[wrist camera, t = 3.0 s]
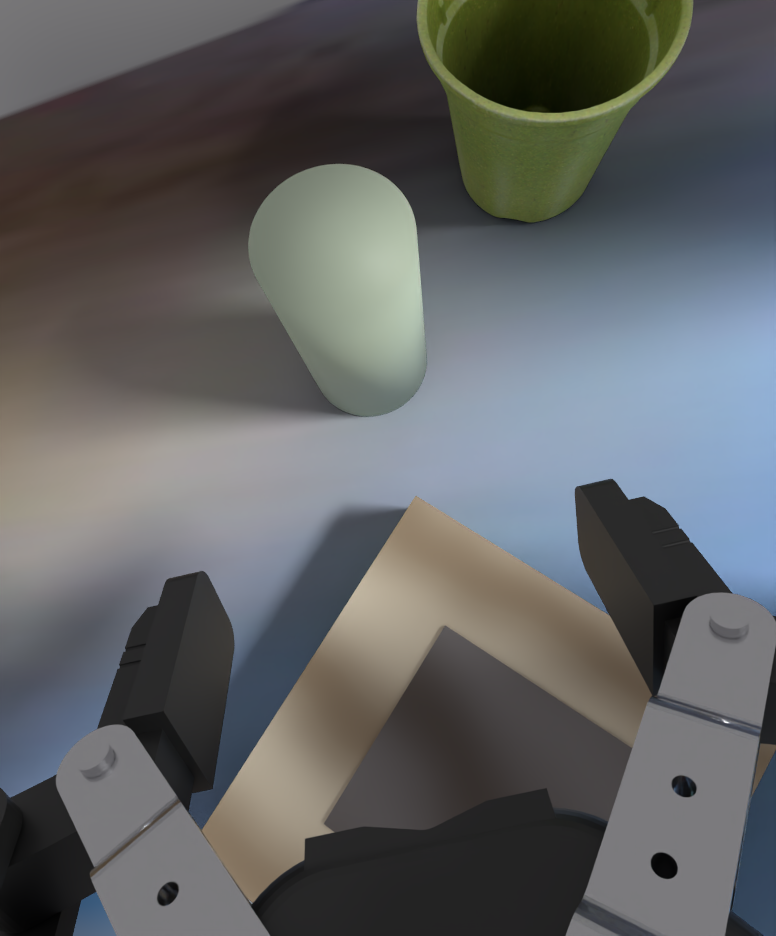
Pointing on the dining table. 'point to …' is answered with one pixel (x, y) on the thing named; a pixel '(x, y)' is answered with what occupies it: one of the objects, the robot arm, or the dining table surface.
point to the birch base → (437, 704)
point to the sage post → (345, 283)
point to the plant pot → (544, 88)
